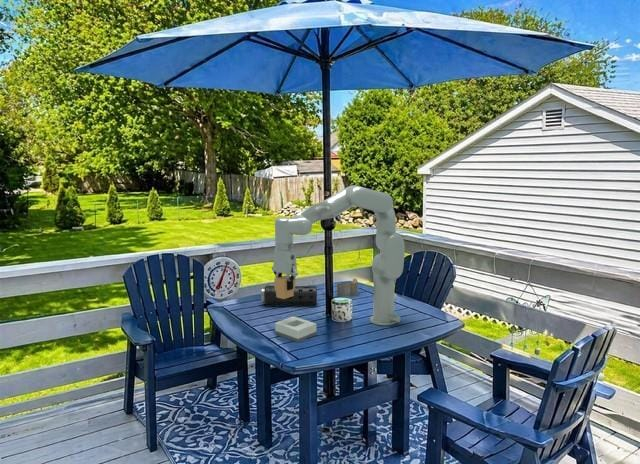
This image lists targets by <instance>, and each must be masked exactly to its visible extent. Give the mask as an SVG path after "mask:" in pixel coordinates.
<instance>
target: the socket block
mask: <svg viewBox="0 0 640 464" xmlns="http://www.w3.org/2000/svg"><path fill="white" fill-rule="evenodd" d="M274 328H275V329H274V330H275V331H274V334H275V335H277V336H280V337H282V338H285V339H288V340H290V341H294V342H295V343H300V342H302V340H303V341H305V340H308V339H310V338H312V337H315V336H316V334H317V323H316V322H312V321H310V320H306V319H303V318H300V317H297V316H294V315H293V316H290V317H287V318H285V319H281V320H279V321H277V322H275V323H274ZM314 335H315V336H314ZM309 337H310V338H309ZM307 338H308V339H307Z"/></svg>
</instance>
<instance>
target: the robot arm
mask: <svg viewBox="0 0 640 464" xmlns="http://www.w3.org/2000/svg"><path fill="white" fill-rule="evenodd" d="M393 205H394V200H393V197H392V196H391V194H388V193H386V192H383V191H378V190H375V189H371V188H367V187H363V186H360V185H349V186H347V187H345V188H344V189H341V190H340V191H338V192H337V193H335V194H333V195H331V196H329V197H328V198H326V199H324V200H322V201H319V202H318V203H315V204H312V205H310V206H309V207H307V208H305V209H302V211H300V212H298V213H296V214H295V215H293V216H292V217H286V216H284V217H282V216H281V217H277V218H275V221H274V242H275V243H274V247H275V248H274V253H273V265H272V267H271V271H272V272H273V274H274V278H277V277H281V276H283V274H284V275H287V279H288V281H287V290H292V289H293V280H294V279H295V280H296V277H298V276H299V272H298V268H297V267H298V266H297V265H298V264H297V256H296V251H295V250H294V248H295V245H294V235H296V236H297V235H298V236H305V235H309V234H310V233H311V232H312V229H313V224H315V223H318V222H320V221H324V220H330V219H334V218H336V217H338V216H340V215H341V214H343V213H344V212H346V211H348V210H350V209H351V208H353V207H358V208H361V209H364V210H368V211H372V212H373V213H374V214H375V218H376V232H375V245H376V247H377V249H379V250H381V252H380V253H377V254H376V255H375V256H374V257H373V259H372V262H371V270H372V276H373V277H372V279H373V287H372V288H373V291H372V292H373V293H372V294H373V297H372V298H373V299H372V307H373V309H372V315H371V316H370V317H369V322H370V323H371V324H373V325H377V326H378V325H379V326H392V325H396V324H397V323H400V322H401V319H402V318H401V316H399V315H397V312H396V311H395V290H396V289H395V284H396V283H395V280H397V279H398V278H400V276H401V275H402V274H403V271H404V265H405V264H404V263H405V249H406V245H405V240H404V239H403V236H402V235H400V234H399V233H397V232H396V229H397V227H396V226H397V219H396V212H395V210H394V209H395V208H394V207H393ZM290 276H291V277H290Z"/></svg>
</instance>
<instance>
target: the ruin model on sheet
mask: <svg viewBox="0 0 640 464" xmlns="http://www.w3.org/2000/svg"><path fill="white" fill-rule="evenodd" d="M336 296H337V297H338V298H339V297H358V296H359V282H358V278H352V281H347V282H346V281H345V282H343V281H342V282H340V283H338V282H336Z"/></svg>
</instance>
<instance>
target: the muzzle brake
mask: <svg viewBox="0 0 640 464" xmlns="http://www.w3.org/2000/svg"><path fill="white" fill-rule="evenodd" d="M317 287H318V286H317V285H295V289H294V296H292V297H289V298H286V299H281V298H278V297H276V290H275V286H274V285H265V286H261V289H260V290H261V291H260V298H261V299H260V300H261V303H262V304H265V305H273V306H275V305H280V306H282V305H292V306H295V305H297V306H316V305H317V303H318V302H317V301H318V289H317Z"/></svg>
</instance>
